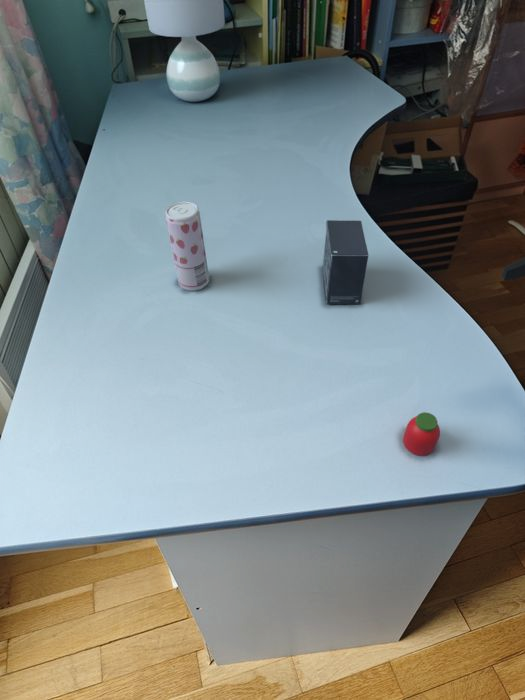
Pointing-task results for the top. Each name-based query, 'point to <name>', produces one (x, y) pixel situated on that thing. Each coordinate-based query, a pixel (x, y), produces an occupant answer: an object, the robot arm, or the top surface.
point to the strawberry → (421, 434)
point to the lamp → (188, 44)
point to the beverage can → (187, 245)
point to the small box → (344, 262)
